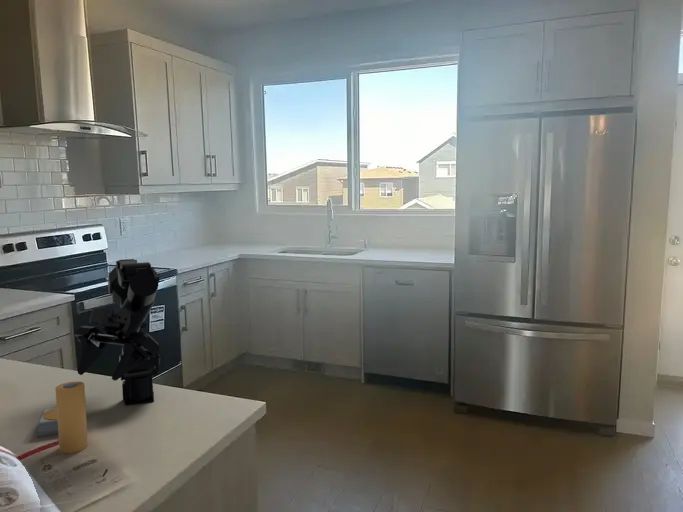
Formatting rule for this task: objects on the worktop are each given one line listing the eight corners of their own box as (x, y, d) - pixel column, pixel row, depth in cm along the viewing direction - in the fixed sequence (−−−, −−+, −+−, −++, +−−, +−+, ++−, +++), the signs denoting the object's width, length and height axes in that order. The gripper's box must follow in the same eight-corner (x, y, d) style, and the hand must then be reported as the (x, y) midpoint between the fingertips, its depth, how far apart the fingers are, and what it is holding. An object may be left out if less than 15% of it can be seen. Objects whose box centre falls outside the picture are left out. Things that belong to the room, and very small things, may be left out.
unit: (85, 415, 117) (84, 402, 117) (80, 431, 110) (80, 416, 109) (44, 421, 114) (43, 407, 114) (37, 437, 107) (36, 422, 106)
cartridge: (89, 439, 106) (85, 379, 104) (86, 450, 101) (82, 387, 100) (61, 443, 104) (57, 382, 102) (57, 455, 99) (53, 391, 98)
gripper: (79, 289, 113) (36, 352, 104) (147, 295, 106) (107, 363, 97) (109, 317, 121) (72, 378, 112) (174, 324, 114) (140, 389, 105)
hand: (96, 376), depth 107 cm, fingers open, 9 cm apart
